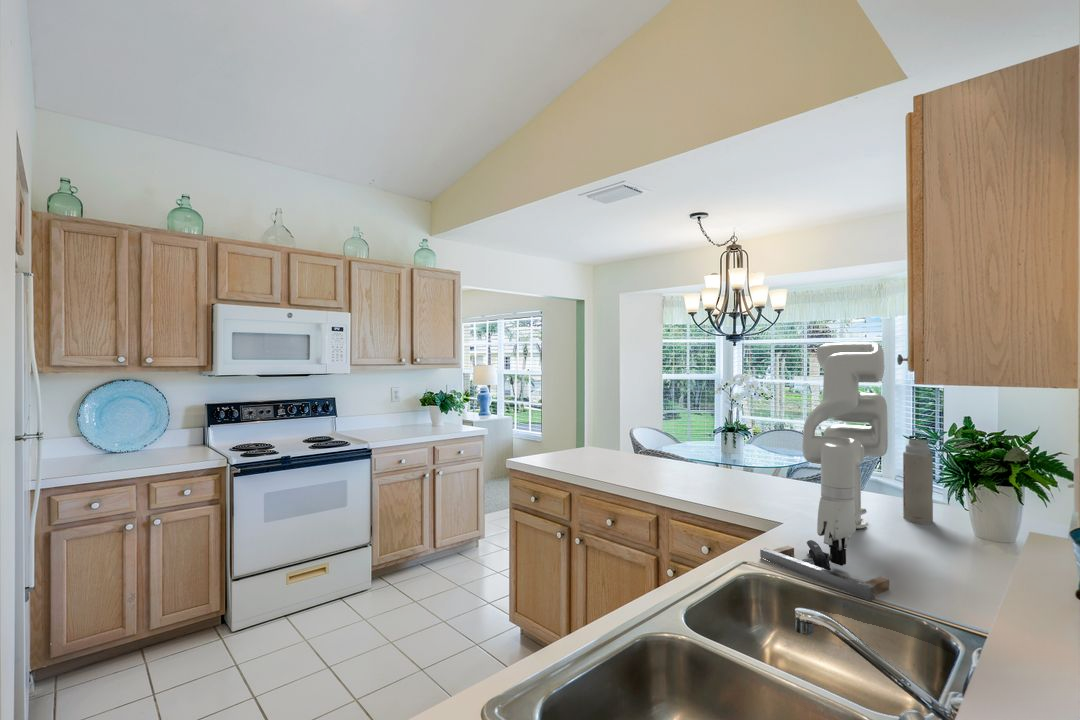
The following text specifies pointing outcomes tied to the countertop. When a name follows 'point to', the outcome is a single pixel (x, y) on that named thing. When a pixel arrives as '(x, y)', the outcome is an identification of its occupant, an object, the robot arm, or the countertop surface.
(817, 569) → the dock
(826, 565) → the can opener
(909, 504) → the thermos bottle
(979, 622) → the countertop surface
